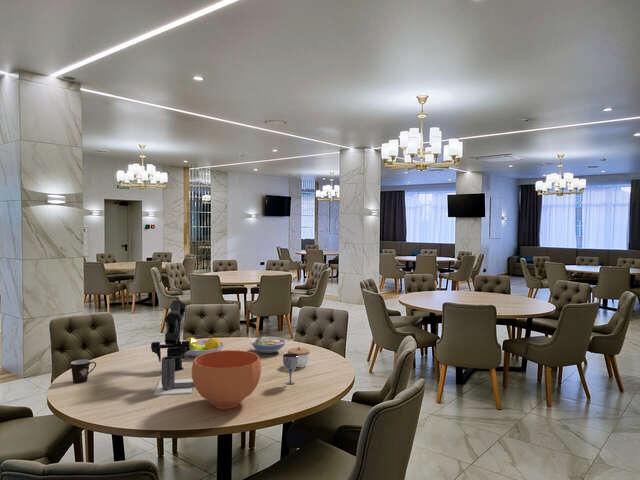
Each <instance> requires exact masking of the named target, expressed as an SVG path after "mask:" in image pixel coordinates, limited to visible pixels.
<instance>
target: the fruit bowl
mask: <svg viewBox="0 0 640 480" xmlns="http://www.w3.org/2000/svg"><path fill="white" fill-rule="evenodd" d="M184 341H189V342H190V351H187V352H185V354H186V355H188V356H191V357H195V358H196V357H197V356H200V355H202V354H205V353H209V352H214V351H223V349H224V347H225V344H224V342H222V341H220V340H219V339H218V338H217V337H213V338H212V337H210V338H208V339H207V340H201V339H200V340H197V339H196V338H195V337H194V336H193V337H187V338H186V339H185V340H184Z"/></svg>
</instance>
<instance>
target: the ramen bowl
mask: <svg viewBox="0 0 640 480" xmlns="http://www.w3.org/2000/svg"><path fill="white" fill-rule="evenodd" d="M286 342H287V340H286V339H284V338H282V337H278V336H263V334H261V335H260V334H259V335H258V337H256V338H253V339H251V340H250V343H251V345H252V347H253V348H254V350H256V351H258V352H261V353H263V354H267V353H270V354H274V353H276V352H279V350H281V349H282V348H283V347H284V346H285V345H286ZM273 352H274V353H273Z"/></svg>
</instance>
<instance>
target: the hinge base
mask: <svg viewBox="0 0 640 480" xmlns="http://www.w3.org/2000/svg"><path fill="white" fill-rule="evenodd" d="M193 388H195V386H194V383H193V379H192V378H184V379H182V378H181V379H175V383H174V384H173V385H169V386H167V388H166V386H164V385H162V380H159V381H158V384H157V386H156V389H155V391H154V393H153V396H168V395H186V394H193V393H192V392H193Z"/></svg>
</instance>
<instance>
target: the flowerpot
mask: <svg viewBox="0 0 640 480" xmlns="http://www.w3.org/2000/svg"><path fill="white" fill-rule="evenodd" d="M261 375H262V361H261V357H260V356H259V355H258V354H257V353H254V352H251V351H246V350H240V349H239V350H238V349H237V350H235V349H233V350H231V349H230V350H229V349H225V350H224V349H223V350H221V351H214V352H209V353H205V354H202V355H200V356H197V357H195V358H194V359H193V361H192V367H191V379H193V383H194V386H195V387H194V388H195V389H196V391H197V392H198V394H199V396H200V397H202V398H203V399H205V400H206V401H208V402H210V403H211V404H213V406H214V407H215V408H217V409H220V410H228V409H229V410H230V409H233V408H236V407H238V406H239V405H240V403H241V402H242V401H243V400H245V399H246V398H247V397H249V396H250V395H252V393H253V392H254V390H255V389H256V388H257V387H258V384H259V381H260V378H261Z"/></svg>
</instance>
